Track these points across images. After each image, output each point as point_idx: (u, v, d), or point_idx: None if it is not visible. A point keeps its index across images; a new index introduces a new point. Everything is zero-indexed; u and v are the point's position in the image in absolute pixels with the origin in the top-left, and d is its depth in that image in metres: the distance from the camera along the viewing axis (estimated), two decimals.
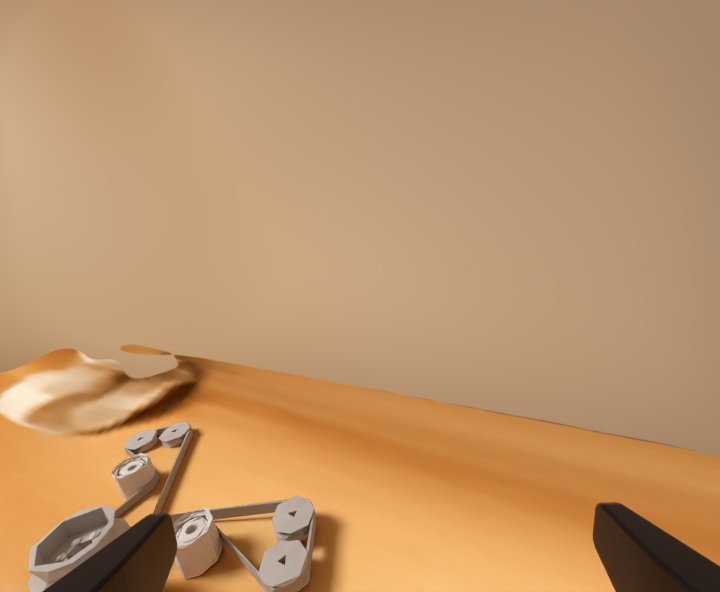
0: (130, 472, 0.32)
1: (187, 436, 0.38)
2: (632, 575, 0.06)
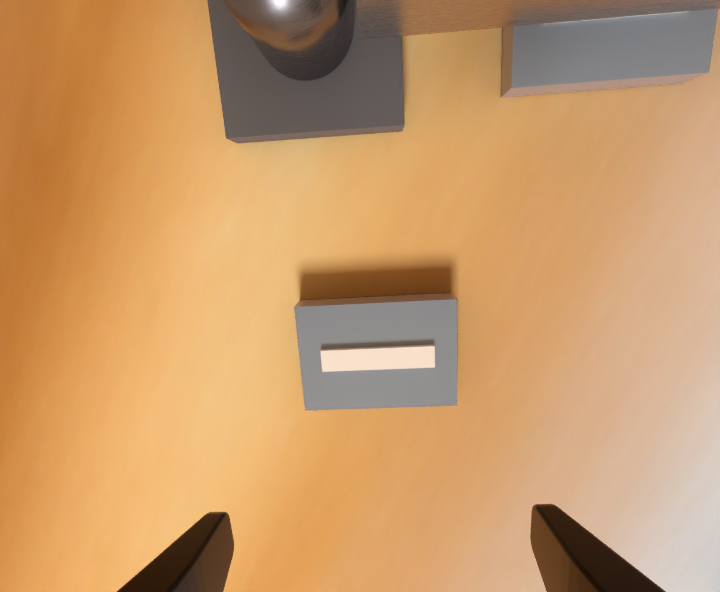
0: None
1: None
2: (558, 576, 0.06)
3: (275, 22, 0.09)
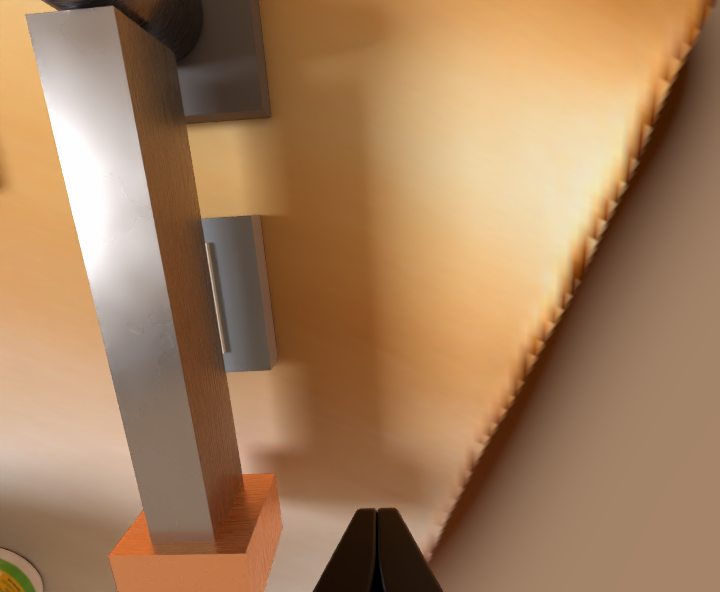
0: None
1: None
2: (378, 579, 0.07)
3: None
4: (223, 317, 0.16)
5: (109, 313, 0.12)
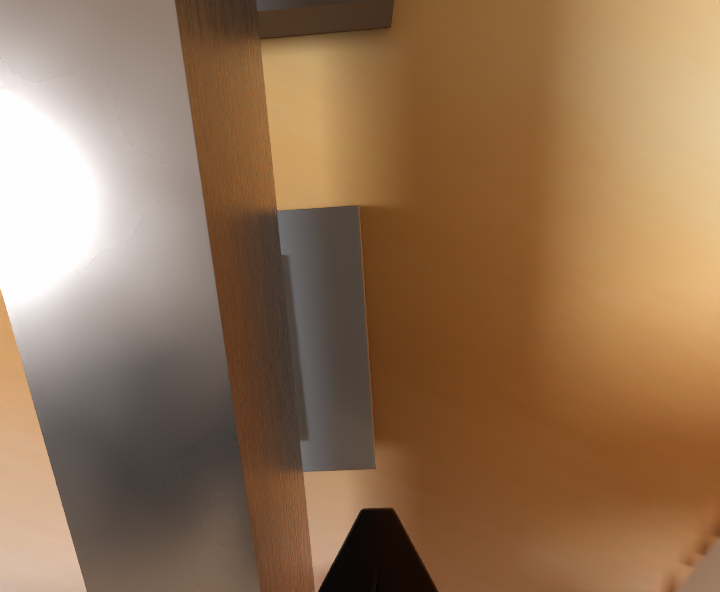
0: None
1: None
2: None
3: None
4: (298, 383, 0.10)
5: (80, 445, 0.05)
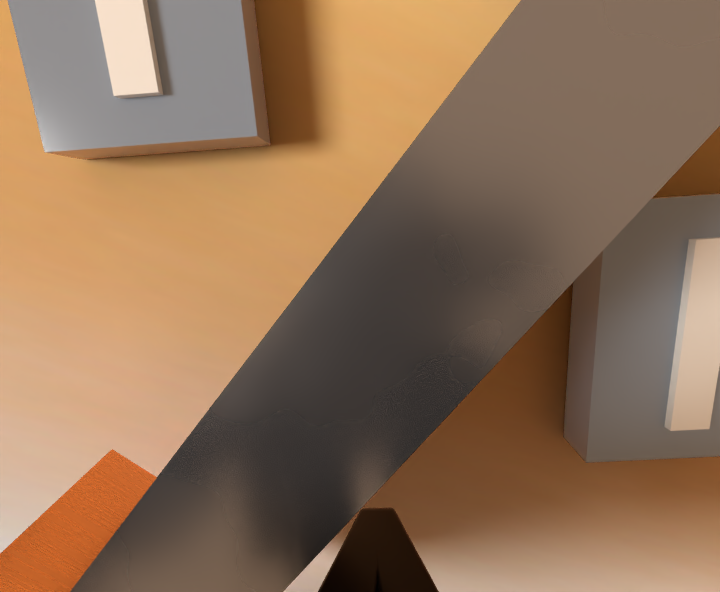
0: None
1: None
2: None
3: None
4: (717, 367, 0.09)
5: (434, 180, 0.04)
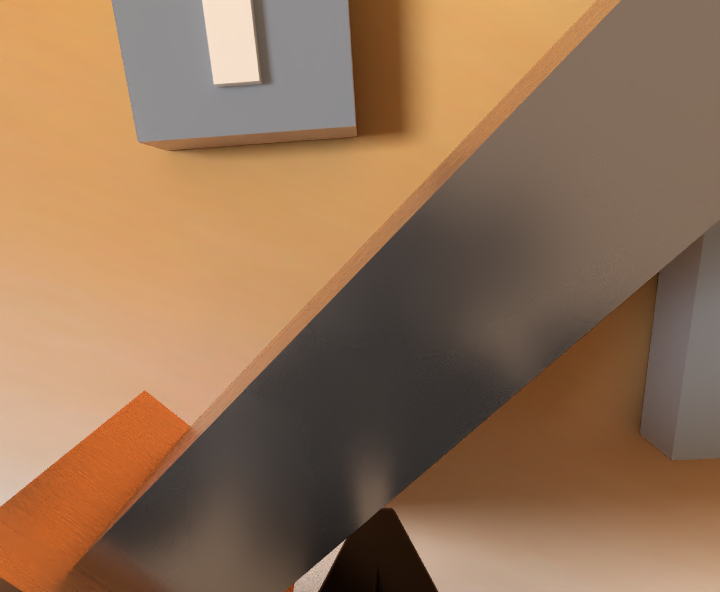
0: None
1: None
2: None
3: None
4: None
5: (593, 90, 0.04)
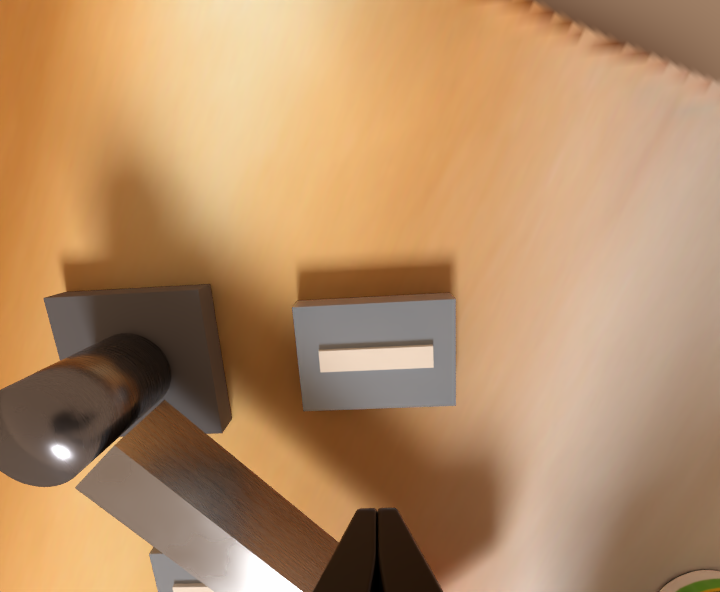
0: None
1: None
2: (378, 579, 0.07)
3: None
4: (394, 343, 0.16)
5: None
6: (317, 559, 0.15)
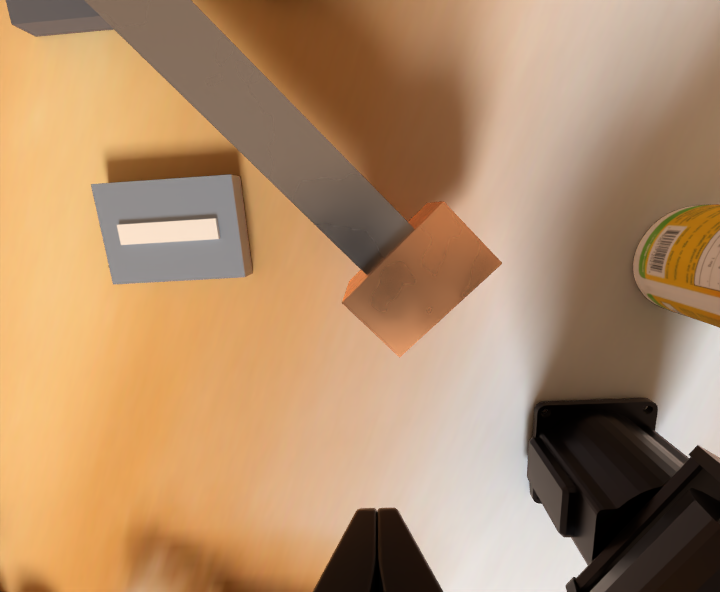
0: None
1: None
2: (378, 579, 0.07)
3: None
4: None
5: (189, 84, 0.12)
6: None
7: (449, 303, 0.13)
